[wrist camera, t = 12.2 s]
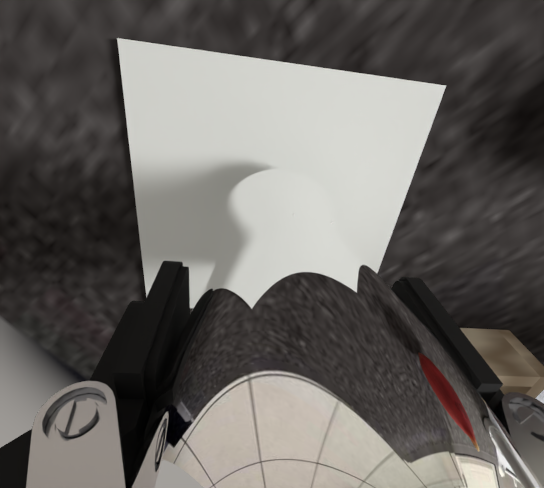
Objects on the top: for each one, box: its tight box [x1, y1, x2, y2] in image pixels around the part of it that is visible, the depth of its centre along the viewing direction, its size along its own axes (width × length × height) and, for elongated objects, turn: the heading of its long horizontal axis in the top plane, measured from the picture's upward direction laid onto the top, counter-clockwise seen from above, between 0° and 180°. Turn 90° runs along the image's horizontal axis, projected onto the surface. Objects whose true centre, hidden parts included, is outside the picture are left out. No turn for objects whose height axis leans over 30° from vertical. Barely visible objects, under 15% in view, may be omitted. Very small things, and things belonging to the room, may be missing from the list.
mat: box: [117, 38, 446, 308], centre depth 16 cm, size 14×14×1 cm
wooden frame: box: [460, 328, 544, 398], centre depth 25 cm, size 18×18×4 cm
